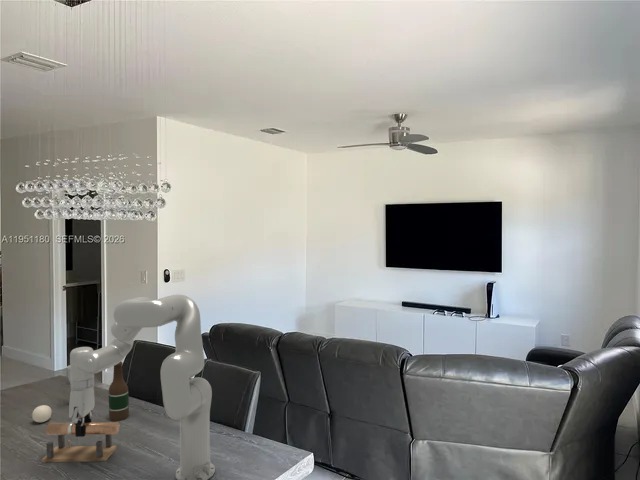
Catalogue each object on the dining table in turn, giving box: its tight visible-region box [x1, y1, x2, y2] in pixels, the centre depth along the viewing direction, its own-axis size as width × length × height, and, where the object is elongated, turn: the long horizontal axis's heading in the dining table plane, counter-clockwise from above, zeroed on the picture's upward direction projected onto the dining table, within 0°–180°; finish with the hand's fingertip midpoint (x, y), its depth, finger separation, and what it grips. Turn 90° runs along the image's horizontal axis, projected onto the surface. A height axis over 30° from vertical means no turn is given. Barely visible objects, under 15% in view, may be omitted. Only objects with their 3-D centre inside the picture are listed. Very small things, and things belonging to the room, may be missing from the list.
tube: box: [45, 421, 121, 436], centre depth 164 cm, size 24×4×4 cm, turn 92°
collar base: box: [41, 434, 117, 463], centre depth 165 cm, size 22×9×6 cm, turn 92°
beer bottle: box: [108, 361, 130, 422], centre depth 195 cm, size 8×8×24 cm
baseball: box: [31, 404, 53, 423], centre depth 192 cm, size 7×7×7 cm
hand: (83, 432), depth 164 cm, fingers closed on tube, 4 cm apart
